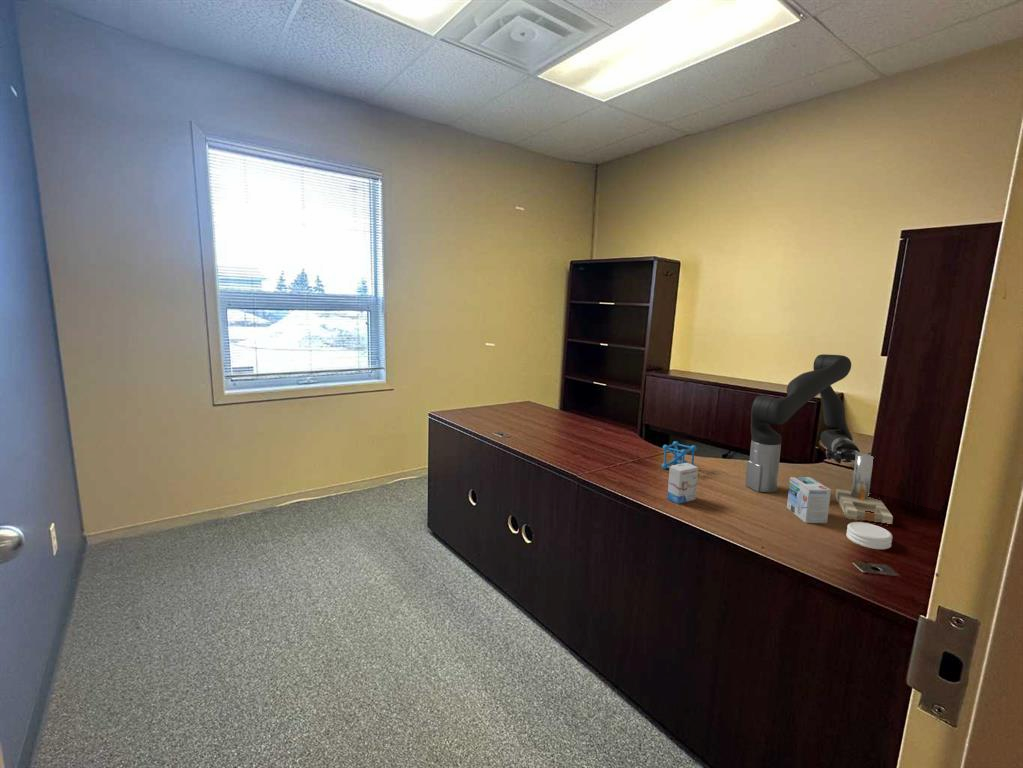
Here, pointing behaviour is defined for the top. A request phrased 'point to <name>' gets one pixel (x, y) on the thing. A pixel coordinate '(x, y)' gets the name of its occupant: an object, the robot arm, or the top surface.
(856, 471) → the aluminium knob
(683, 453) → the molecular structure
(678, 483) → the ink box
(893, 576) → the top surface
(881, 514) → the hub plate
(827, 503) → the light bulb box
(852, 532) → the coaster
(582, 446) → the top surface
